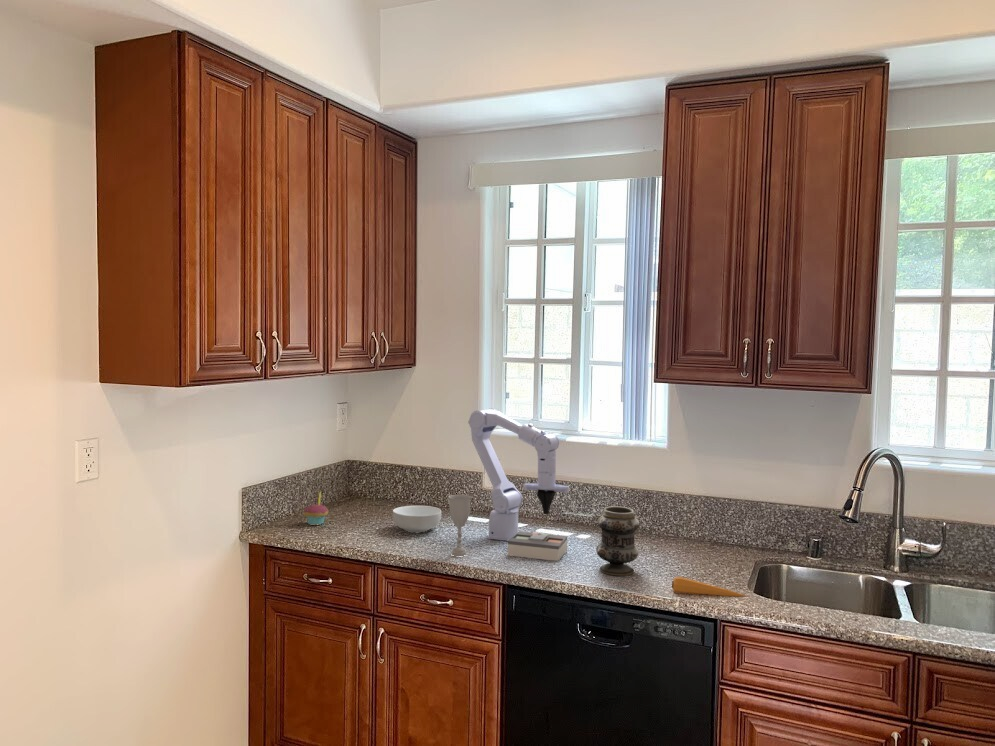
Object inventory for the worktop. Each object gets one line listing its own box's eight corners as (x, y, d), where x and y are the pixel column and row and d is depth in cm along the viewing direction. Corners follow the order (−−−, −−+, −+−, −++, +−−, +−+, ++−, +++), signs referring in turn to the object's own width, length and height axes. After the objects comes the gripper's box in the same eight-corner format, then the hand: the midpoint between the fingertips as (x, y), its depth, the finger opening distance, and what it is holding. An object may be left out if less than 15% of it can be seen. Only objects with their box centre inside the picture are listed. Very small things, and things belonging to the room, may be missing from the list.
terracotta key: (545, 550, 226) (546, 542, 226) (549, 546, 230) (549, 539, 230) (559, 551, 225) (559, 544, 225) (562, 548, 229) (562, 540, 229)
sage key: (513, 546, 229) (513, 539, 229) (517, 543, 233) (517, 536, 233) (526, 548, 228) (526, 540, 228) (530, 544, 232) (530, 537, 232)
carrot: (671, 596, 195) (673, 583, 193) (670, 585, 199) (673, 572, 197) (749, 609, 192) (752, 596, 190) (746, 597, 196) (750, 584, 194)
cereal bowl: (450, 532, 251) (450, 512, 251) (406, 539, 242) (406, 518, 242) (426, 521, 265) (426, 502, 265) (384, 528, 256) (384, 507, 256)
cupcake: (317, 520, 265) (317, 487, 264) (333, 524, 260) (333, 490, 259) (298, 525, 258) (298, 491, 257) (314, 528, 253) (314, 494, 253)
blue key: (529, 545, 228) (529, 537, 228) (533, 541, 232) (533, 534, 232) (542, 546, 226) (542, 539, 226) (546, 543, 230) (546, 535, 230)
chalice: (474, 553, 227) (475, 495, 227) (466, 559, 221) (467, 500, 220) (452, 550, 230) (453, 493, 229) (443, 556, 223) (444, 498, 223)
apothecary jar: (638, 578, 206) (639, 515, 205) (594, 575, 208) (596, 512, 207) (637, 565, 218) (639, 505, 217) (596, 563, 220) (598, 503, 219)
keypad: (507, 555, 226) (507, 540, 226) (518, 545, 237) (518, 530, 237) (558, 560, 221) (558, 545, 221) (567, 550, 232) (567, 535, 232)
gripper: (521, 472, 235) (521, 514, 235) (566, 474, 230) (565, 517, 231) (527, 468, 242) (527, 509, 242) (570, 471, 237) (570, 513, 238)
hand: (546, 513), depth 237 cm, fingers closed
